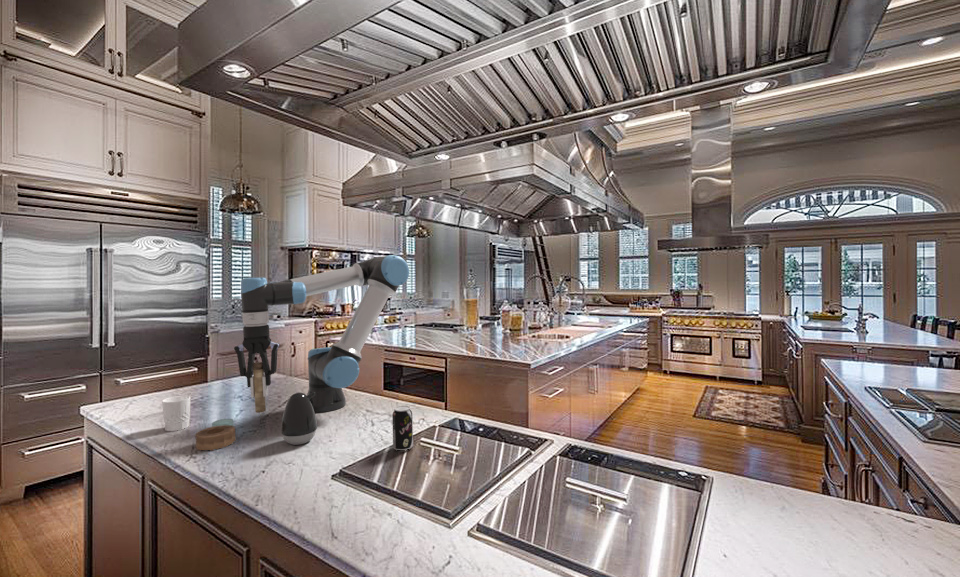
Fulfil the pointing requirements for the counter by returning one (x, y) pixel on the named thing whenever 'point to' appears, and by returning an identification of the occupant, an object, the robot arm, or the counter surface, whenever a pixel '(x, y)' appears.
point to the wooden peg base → (215, 437)
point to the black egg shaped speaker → (299, 419)
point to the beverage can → (402, 428)
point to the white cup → (176, 412)
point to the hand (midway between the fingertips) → (259, 395)
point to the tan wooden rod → (258, 387)
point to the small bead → (223, 422)
